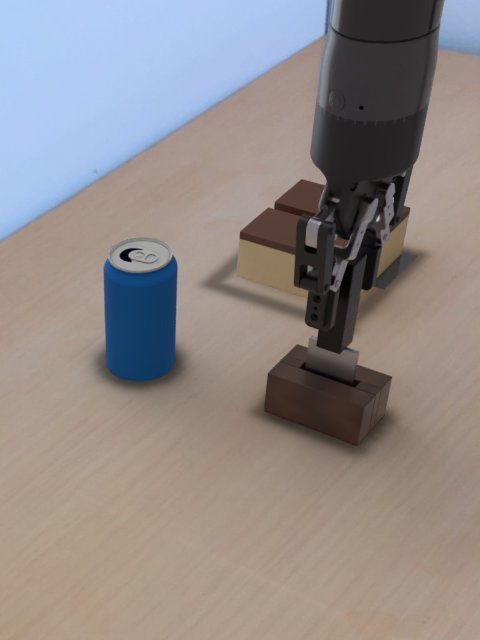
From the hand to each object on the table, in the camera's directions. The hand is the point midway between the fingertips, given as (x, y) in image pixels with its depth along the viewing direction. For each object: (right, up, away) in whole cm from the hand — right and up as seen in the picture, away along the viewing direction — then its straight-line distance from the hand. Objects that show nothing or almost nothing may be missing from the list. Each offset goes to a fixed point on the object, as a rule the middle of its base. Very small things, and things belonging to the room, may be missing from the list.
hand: (340, 305), depth 88 cm
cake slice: (+3, +9, +22) cm, 24 cm away
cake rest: (+7, +13, +25) cm, 29 cm away
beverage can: (-14, -1, +17) cm, 22 cm away
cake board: (+5, +10, +24) cm, 26 cm away
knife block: (+1, -8, +9) cm, 12 cm away
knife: (+1, -7, +8) cm, 11 cm away
